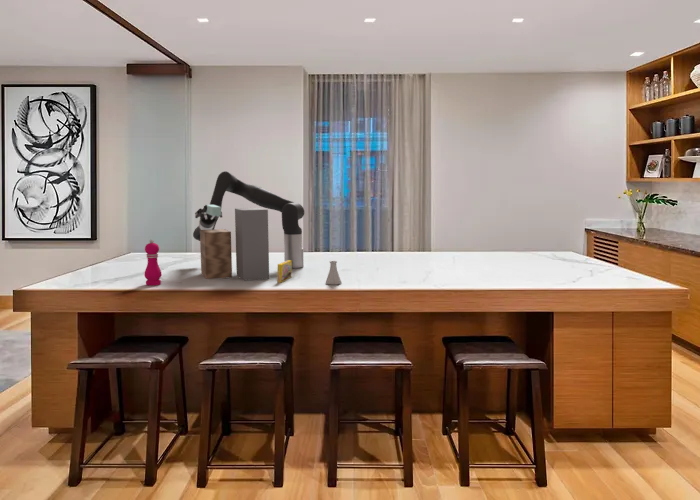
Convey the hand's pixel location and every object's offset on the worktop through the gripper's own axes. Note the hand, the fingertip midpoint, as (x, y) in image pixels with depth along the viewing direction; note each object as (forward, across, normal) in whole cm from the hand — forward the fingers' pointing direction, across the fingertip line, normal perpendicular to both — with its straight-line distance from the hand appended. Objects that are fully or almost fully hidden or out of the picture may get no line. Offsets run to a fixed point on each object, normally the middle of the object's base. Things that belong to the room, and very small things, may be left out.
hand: (211, 206), depth 318 cm
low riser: (-8, 0, +33) cm, 34 cm away
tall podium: (+2, +15, +39) cm, 42 cm away
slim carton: (+3, 0, +6) cm, 6 cm away
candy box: (+14, +27, +45) cm, 55 cm away
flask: (+30, +44, +54) cm, 76 cm away
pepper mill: (+5, -30, +41) cm, 51 cm away
